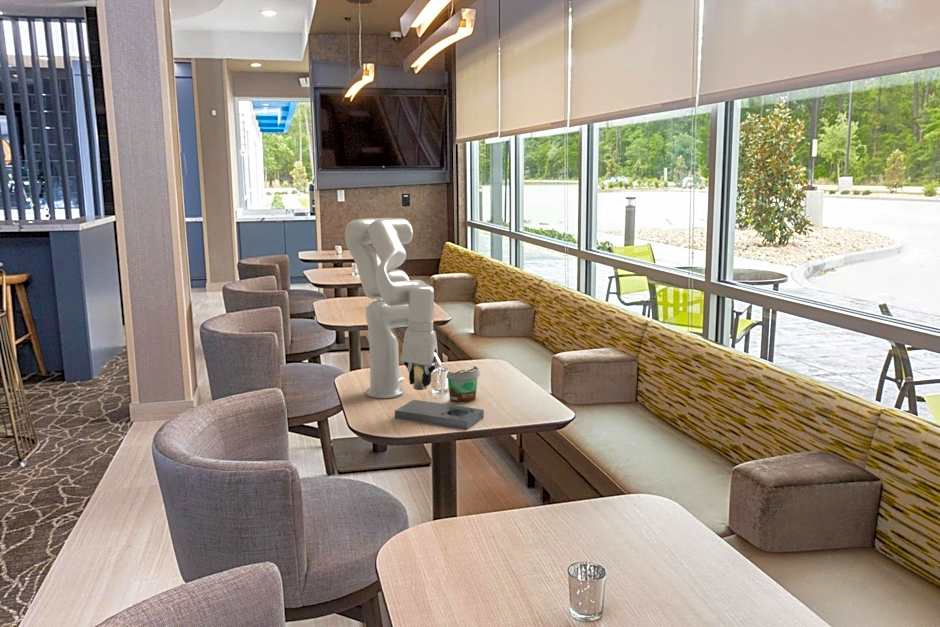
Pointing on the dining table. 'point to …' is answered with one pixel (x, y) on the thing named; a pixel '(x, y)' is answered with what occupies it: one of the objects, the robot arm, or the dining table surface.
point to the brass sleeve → (418, 377)
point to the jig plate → (439, 414)
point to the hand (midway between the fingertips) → (420, 383)
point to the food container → (463, 385)
